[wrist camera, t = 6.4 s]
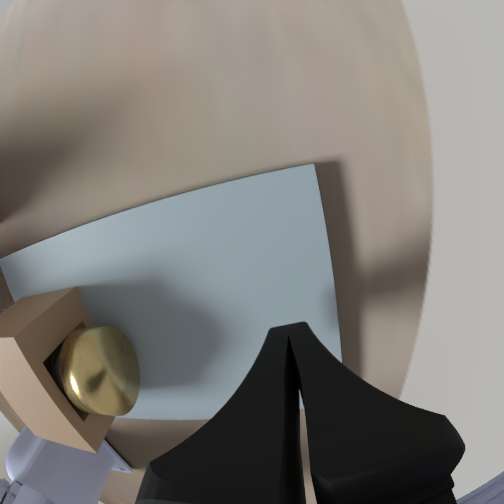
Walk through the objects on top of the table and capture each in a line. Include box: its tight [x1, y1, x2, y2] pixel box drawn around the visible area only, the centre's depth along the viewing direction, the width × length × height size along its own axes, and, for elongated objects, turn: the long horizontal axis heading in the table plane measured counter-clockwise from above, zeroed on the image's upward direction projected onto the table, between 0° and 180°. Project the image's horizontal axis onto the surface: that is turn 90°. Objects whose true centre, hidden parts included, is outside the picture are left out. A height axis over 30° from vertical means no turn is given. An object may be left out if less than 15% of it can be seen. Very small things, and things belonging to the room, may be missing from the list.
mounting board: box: [0, 164, 342, 453], centre depth 11 cm, size 18×12×6 cm, turn 103°
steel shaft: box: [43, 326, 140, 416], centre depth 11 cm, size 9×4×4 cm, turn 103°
